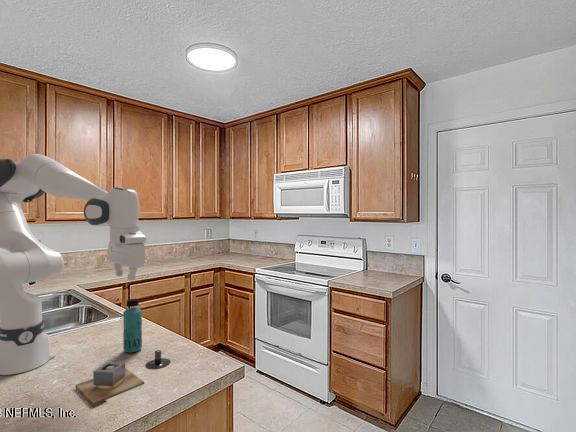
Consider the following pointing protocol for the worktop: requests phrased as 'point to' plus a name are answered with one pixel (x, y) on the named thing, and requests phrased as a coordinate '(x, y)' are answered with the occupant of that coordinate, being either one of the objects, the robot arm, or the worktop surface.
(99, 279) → the worktop surface
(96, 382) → the square metal tube
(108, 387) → the brown square board
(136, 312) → the beverage bottle
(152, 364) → the stand
